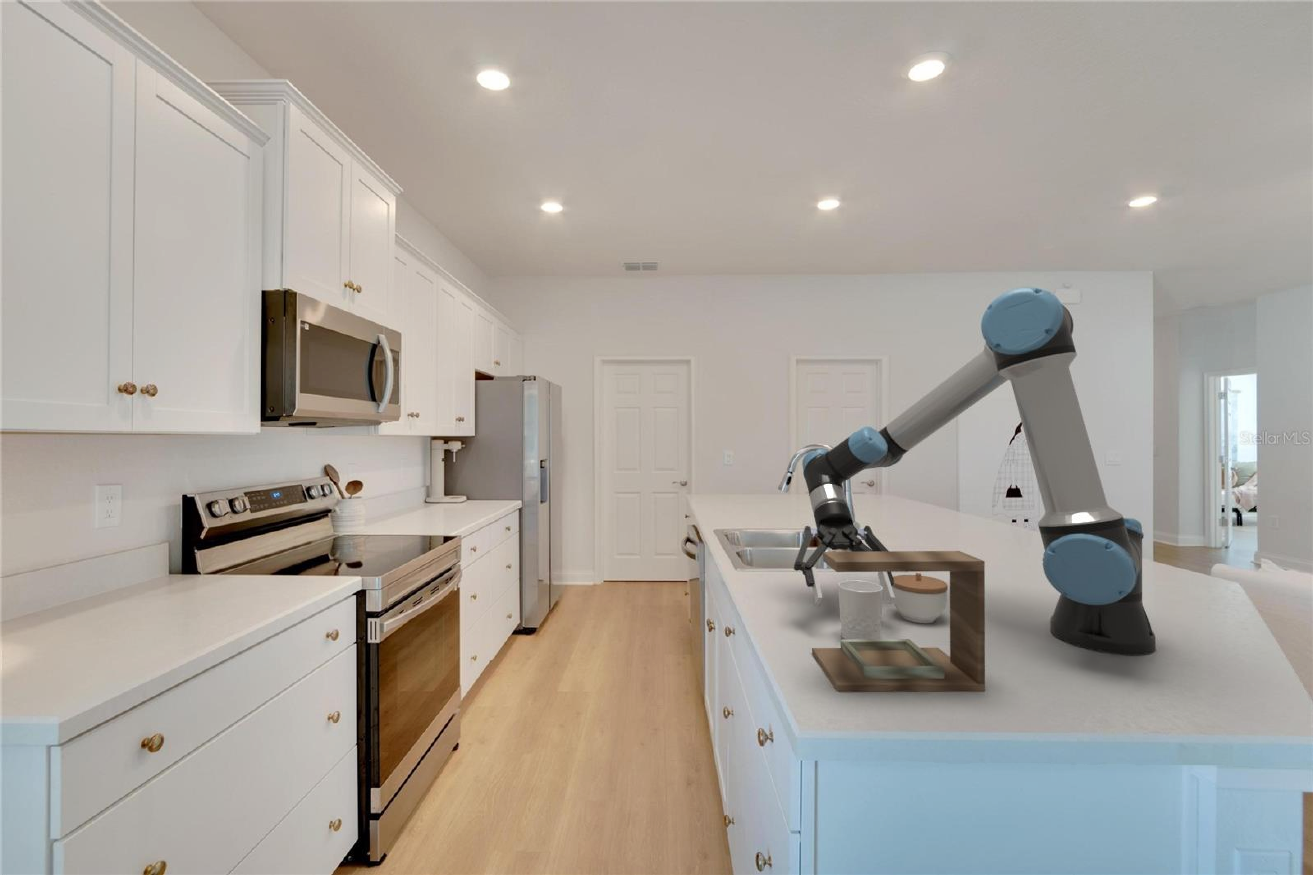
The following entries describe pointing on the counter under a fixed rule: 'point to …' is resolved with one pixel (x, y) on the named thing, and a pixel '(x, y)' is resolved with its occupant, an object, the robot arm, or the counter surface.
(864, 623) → the white cup
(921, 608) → the lidded jar
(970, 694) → the counter surface
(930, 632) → the counter surface
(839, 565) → the shelf unit
